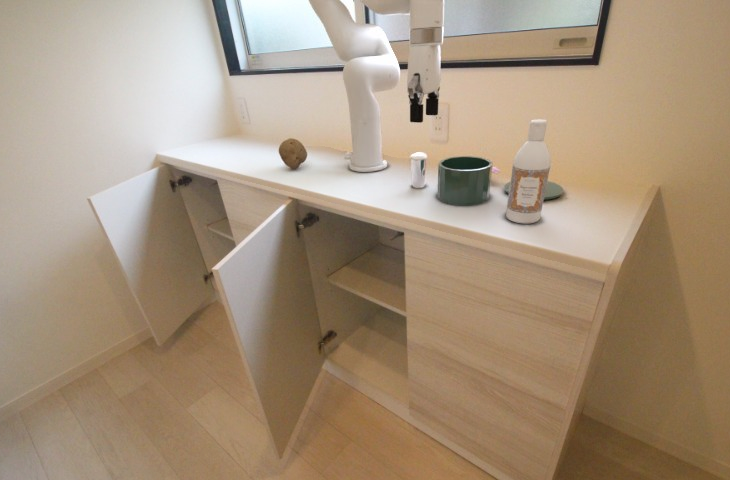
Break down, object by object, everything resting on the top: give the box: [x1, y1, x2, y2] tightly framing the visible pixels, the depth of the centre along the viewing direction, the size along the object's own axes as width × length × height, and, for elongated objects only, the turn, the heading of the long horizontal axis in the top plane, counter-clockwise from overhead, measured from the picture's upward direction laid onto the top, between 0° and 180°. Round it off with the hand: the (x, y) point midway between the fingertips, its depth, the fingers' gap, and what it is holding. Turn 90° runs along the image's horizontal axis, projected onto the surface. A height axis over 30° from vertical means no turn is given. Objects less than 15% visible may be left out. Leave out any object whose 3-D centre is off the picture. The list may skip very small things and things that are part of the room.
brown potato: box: [278, 137, 308, 171], centre depth 121 cm, size 9×9×10 cm
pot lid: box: [503, 180, 564, 200], centre depth 90 cm, size 14×14×7 cm
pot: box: [436, 155, 493, 207], centre depth 90 cm, size 13×13×8 cm
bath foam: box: [505, 118, 552, 225], centre depth 74 cm, size 7×7×20 cm
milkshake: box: [407, 151, 428, 189], centre depth 98 cm, size 4×5×10 cm
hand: (424, 118), depth 91 cm, fingers open, 9 cm apart
